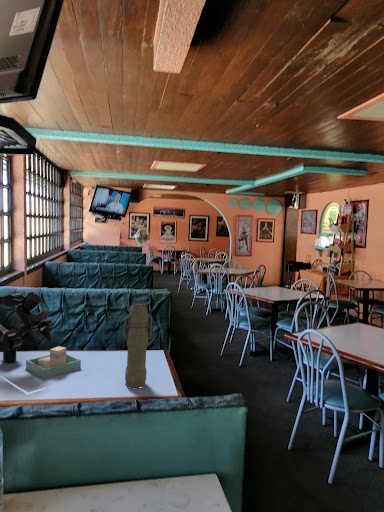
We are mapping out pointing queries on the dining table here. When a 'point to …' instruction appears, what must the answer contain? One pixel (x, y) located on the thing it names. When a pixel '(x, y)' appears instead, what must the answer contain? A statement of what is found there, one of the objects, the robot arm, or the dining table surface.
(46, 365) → the beige rectangular block
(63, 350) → the oat carton
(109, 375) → the dining table surface
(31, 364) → the tote
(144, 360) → the thermos
